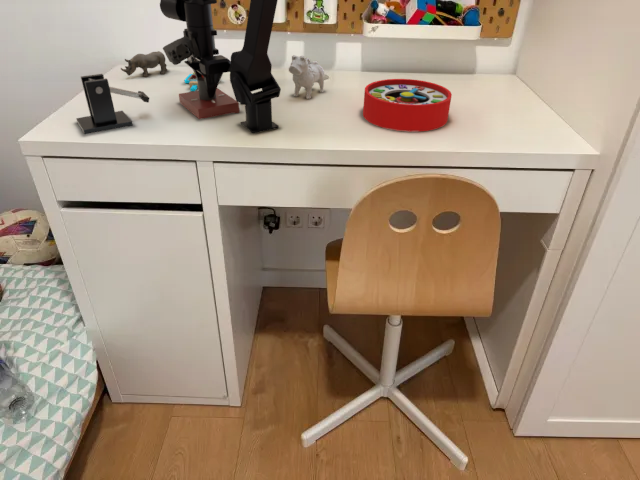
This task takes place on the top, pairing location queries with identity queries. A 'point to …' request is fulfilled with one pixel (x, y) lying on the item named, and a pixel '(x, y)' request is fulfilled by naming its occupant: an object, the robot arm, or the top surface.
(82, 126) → the lever bracket
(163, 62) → the rhino figurine
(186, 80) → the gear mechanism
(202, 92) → the timer dial
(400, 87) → the toy clock
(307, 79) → the dog figurine
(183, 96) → the dial panel
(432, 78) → the top surface
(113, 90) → the lever
